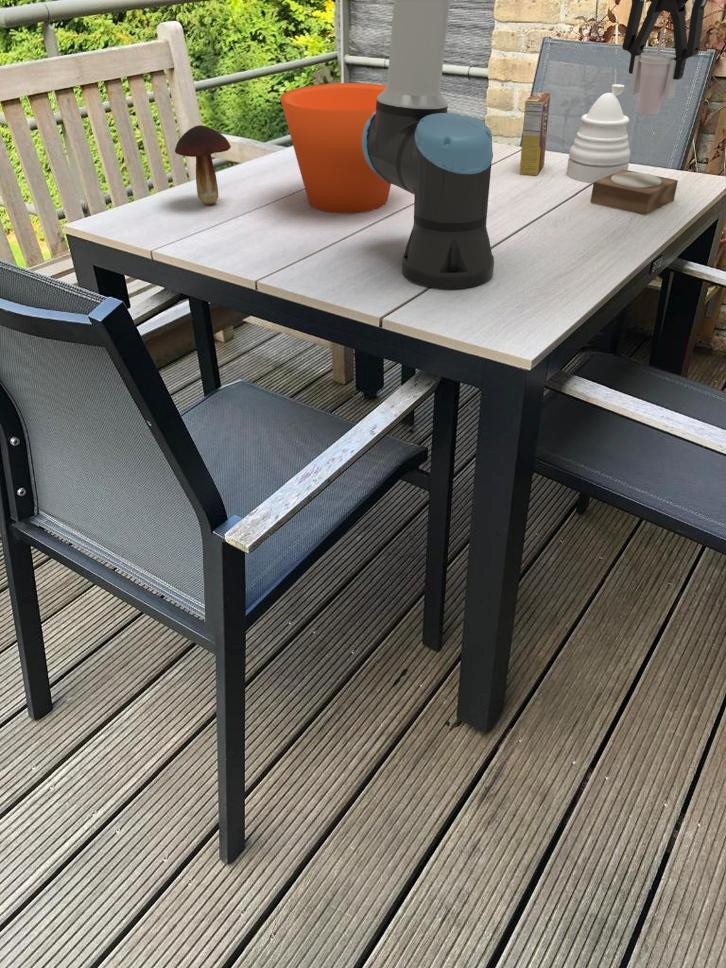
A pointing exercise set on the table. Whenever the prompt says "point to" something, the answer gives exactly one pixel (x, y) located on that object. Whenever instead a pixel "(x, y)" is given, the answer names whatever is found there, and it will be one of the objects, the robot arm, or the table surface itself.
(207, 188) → the decorative mushroom
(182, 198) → the table surface
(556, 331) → the table surface
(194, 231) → the table surface
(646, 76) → the smoothie
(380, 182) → the flowerpot
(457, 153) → the robot arm
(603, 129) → the honey pot
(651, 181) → the pedestal
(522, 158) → the candy box
